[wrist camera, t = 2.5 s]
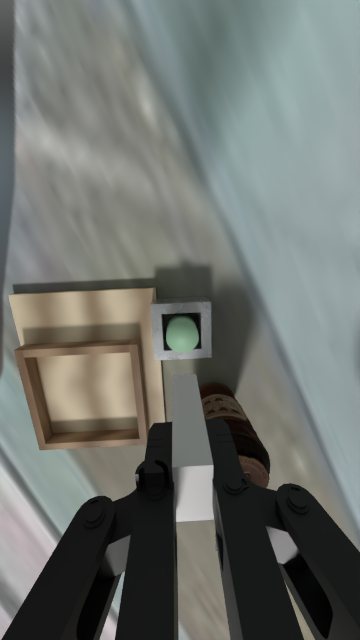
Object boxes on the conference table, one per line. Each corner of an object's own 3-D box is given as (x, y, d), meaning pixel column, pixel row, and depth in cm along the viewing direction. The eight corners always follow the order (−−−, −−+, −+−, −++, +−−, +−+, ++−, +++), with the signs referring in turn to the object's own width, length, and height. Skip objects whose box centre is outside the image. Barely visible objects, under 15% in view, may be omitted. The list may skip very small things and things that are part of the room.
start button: (195, 313, 28) (198, 321, 25) (196, 340, 29) (199, 352, 26) (166, 314, 28) (165, 322, 25) (167, 342, 29) (167, 353, 26)
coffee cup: (176, 382, 33) (177, 459, 20) (232, 367, 32) (269, 436, 20) (192, 430, 35) (201, 526, 23) (244, 416, 35) (284, 507, 22)
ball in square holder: (206, 296, 30) (211, 301, 26) (207, 346, 31) (211, 357, 28) (152, 298, 29) (149, 304, 26) (156, 349, 31) (154, 360, 28)
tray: (155, 287, 29) (153, 290, 26) (166, 430, 35) (165, 446, 32) (13, 293, 29) (-5, 297, 26) (48, 436, 35) (37, 453, 32)
